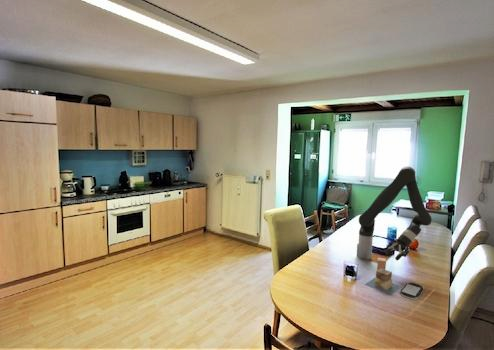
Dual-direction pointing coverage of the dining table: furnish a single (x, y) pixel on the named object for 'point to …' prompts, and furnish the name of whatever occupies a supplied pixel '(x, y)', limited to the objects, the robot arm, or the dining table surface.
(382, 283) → the tower base
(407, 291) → the gaming console
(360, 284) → the dining table surface
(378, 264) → the terracotta pillar
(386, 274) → the tower top
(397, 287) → the slate mat
